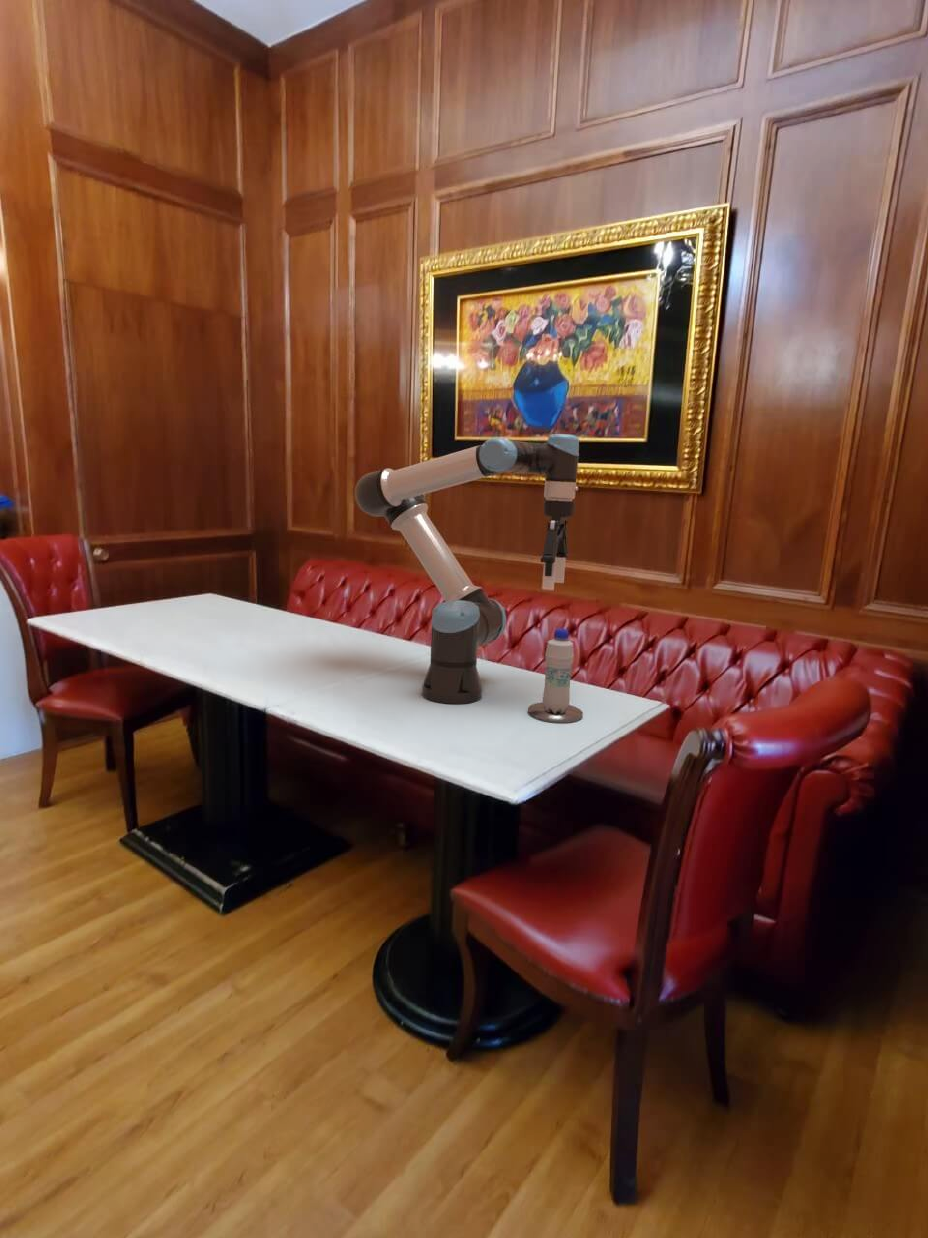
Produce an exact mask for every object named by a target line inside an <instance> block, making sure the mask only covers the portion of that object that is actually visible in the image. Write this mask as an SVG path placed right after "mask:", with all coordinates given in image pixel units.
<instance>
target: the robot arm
mask: <svg viewBox="0 0 928 1238" xmlns="http://www.w3.org/2000/svg"><path fill="white" fill-rule="evenodd" d="M579 450H580V440H579V437H578V436H576V435H575V434H567V433H566V434H564V433H554V434H553V433H552V434H550V435H549V436H548V438H547V441H546V442H525V441H519V440H514V439H508V438H507V437H501V436H499V437H491V438H488V439H487V440H486V441H484V442H483V444H479V445H476V446H472V447H469V448H465V449H463V450H459V451H455V452H452V453H449V454H446V455H442V456H439V457H436V458H432V459H429V460H425V461H422V462H419V463H415V464H413V465H409V466H405V467H402V468H399V469H395V470H394V469H392V468H384V469H380V470H376V471H372V472H371V471H370V472H368V473H366V474H364V475H363V476H361V477H360V478H359V480H358V481H357V483H356V485H355V487H354V488H355V489H354V499H355V502H356V504H357V506H358V507H359V509H360V510H361V511H362V512H364V513H365V514H367V515H369V516H371V517H377V518H378V517H381V518H382V517H384V518H385V520H386V522H387V523H388V525H389V526H390V528H391V529H392V530H393V531H398V532H400V533H401V534H402V536H403V537H404V539H405V541H406V542H407V544H408V545H409V547H410V549H411V550H412V552H413V553H414V555H415V556H416V558H417V559H418V560H419V563H421V565H422V567H423V568H424V570H425V571H426V573H427V574H428V575H429V576H428V577H429V578H430V579H431V581H432V582H433V583H434V585H435V586H436V589H437V590H438V591H439V593H440V595H441V596H442V597H443V598H442V599H444V602H440V603H438V604H437V605H435V607H434V608H433V609H432V616H431V620H430V621H431V622H430V623H431V631H430V632H431V634H430V635H431V636H430V637H431V639H430V665H429V667H428V669H427V673H426V675H425V678H424V681H423V684H422V687H421V689H422V692H421V693H422V696H423V697H424V698H425V699H427V700H429V701H432V702H436V703H443V704H450V705H452V704H453V705H456V704H457V705H458V704H459V705H461V704H469V703H471V704H472V703H475V702H477V701H480V700H481V698H482V697H483V686H482V682H481V679H480V674H479V671H478V668H477V663H478V662H477V660H478V648H480V647H483V646H485V645H489V644H491V643H493V642H494V641H496V640H497V639H499V637H501V636H502V634H503V633H504V630H505V628H506V624H507V615H506V612H505V609H504V607H503V606H502V604H500V603H499V602H498V601H497V600H495V599H492V598H489V596H488V595H487V593H486V591H485V590H484V589H483V587H481V586H476V585H474V583H473V582H472V580H471V579H470V578H469V577H468V575H467V573H466V572H465V571H464V568H463V567H462V566H461V564H460V563H459V561H458V560H457V558H456V556H455V555H454V554H453V552H452V551H451V549H450V547H449V546H448V545H447V543H446V541H445V540H444V539H443V537H442V535H441V533H440V532H439V531H438V530H437V527H436V526H435V525H434V523H433V522H432V520H431V519H430V517H429V516H428V514H427V513H428V509H429V506H428V504H427V503H426V501H425V500H426V499H425V496H426V495H427V494H430V493H433V492H437V491H440V490H444V489H448V488H452V487H454V486H458V485H462V484H465V483H469V482H473V481H476V480H480V479H482V478H486V477H487V478H488V477H490V476H496V475H499V474H503V473H509V474H514V475H517V474H523V475H525V474H530V475H532V474H533V475H534V474H535V475H538V474H539V475H545V481H544V490H543V491H544V493H543V497H544V498H545V500H544V501H543V509H542V510H543V511H542V514H543V515H544V516H546V517H547V516H548V517H551V519H550V520H547V527H546V534H545V539H544V547H543V553H542V557H541V558H540V563H543V567H542V568H543V570H542V571H543V572H542V584H541V589H542V590H546V591H547V590H549V591H554V589H555V584H557V583H558V584H559V583H560V584H564V583H565V574H566V573H565V571H566V568H565V567H566V559H567V558H569V556H570V553H568V552H569V551H568V522H569V521H568V519H567V518H571V517H574V516H575V506H576V503H575V501H573V500H574V499H575V498H576V491H577V492H578V491H579V486H577V477H578V467H579V458H580V457H579V456H580V453H579Z"/></svg>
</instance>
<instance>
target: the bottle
mask: <svg viewBox="0 0 928 1238" xmlns="http://www.w3.org/2000/svg"><path fill="white" fill-rule="evenodd" d="M569 635H570V632H569V630H568V629H566V628H556V629H555V630H554V634H553V638H552V639H550V640H548V641H547V645H546V650H545V659H544V661H545V664H546V665H545V679H544V686H543V687H544V688H543V695H542V702H543V707H544V709H545V710H546V711H547V712H550V710H551V709H552V710H553V713H555V714H556V712H557V710H559V711H560V713H564V712H566V711H567V710H568V707H569V705H570V701H571V699H570V693H571V692H570V689H571V675H572V674H571V673H572V665H573V663H574V658H575V656H574V655H575V653H574V643H573V642H572V641H570V640H569V637H570V636H569Z"/></svg>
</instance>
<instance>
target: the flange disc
mask: <svg viewBox="0 0 928 1238" xmlns="http://www.w3.org/2000/svg"><path fill="white" fill-rule="evenodd" d="M527 714H528V715H529V716H530V717H532V718H533V719H535V720H538V721H542V722H545V723H552V724H572V723H576V722H579V721H581V720H582V719H583V715H584V713H583V711H582V710H581V708H579V707H576V706H575V705H572V704H571V705H570V704H569V707H568V710H567V711H566V712H564V713H560V711H559V710H557V712H556V714H555V713H553V710H552V709H551V710H550V712H547V711H546V710H545V709H544V707H543V701H542V702H536V703H532V704H530V705H529V706H528V707H527Z"/></svg>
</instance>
